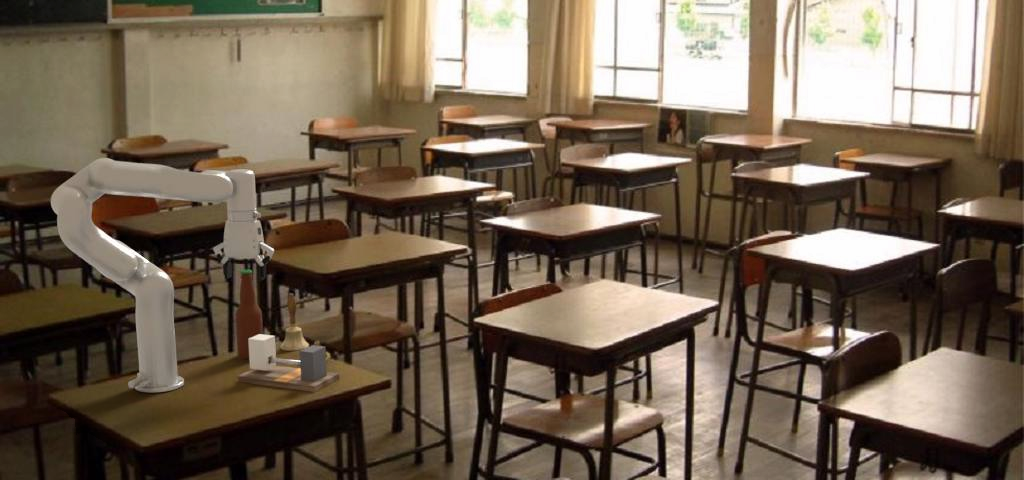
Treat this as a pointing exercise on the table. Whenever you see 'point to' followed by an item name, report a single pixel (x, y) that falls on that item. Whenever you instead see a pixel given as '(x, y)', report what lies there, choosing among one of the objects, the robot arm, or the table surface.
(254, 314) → the bottle
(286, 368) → the board
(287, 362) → the metal rod
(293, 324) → the hand bell
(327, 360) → the seal
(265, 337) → the sleeve
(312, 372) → the connector block
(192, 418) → the table surface
